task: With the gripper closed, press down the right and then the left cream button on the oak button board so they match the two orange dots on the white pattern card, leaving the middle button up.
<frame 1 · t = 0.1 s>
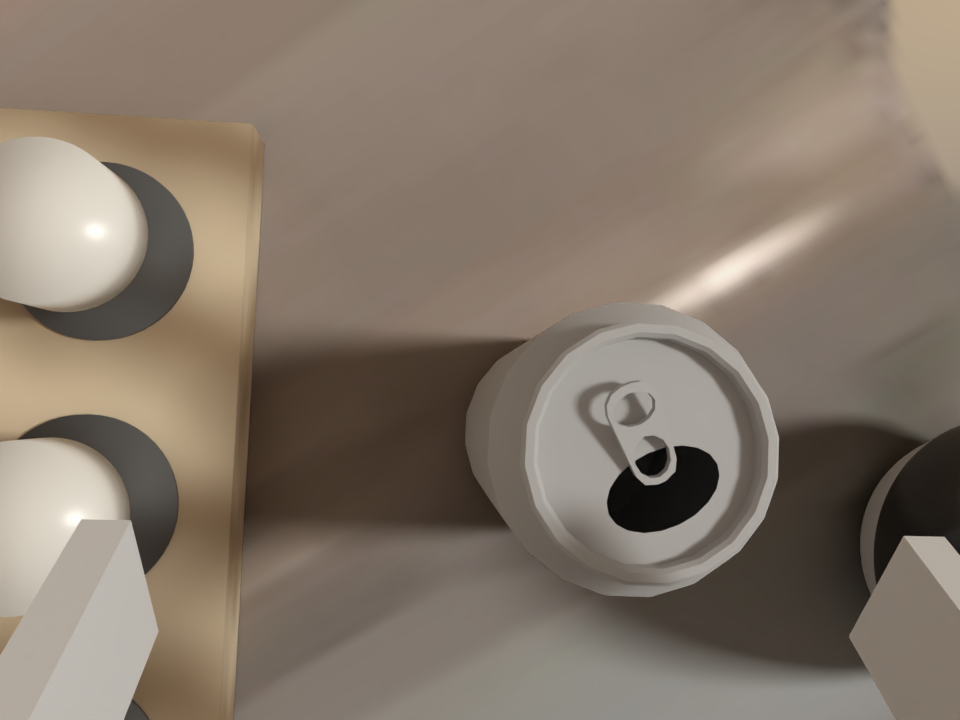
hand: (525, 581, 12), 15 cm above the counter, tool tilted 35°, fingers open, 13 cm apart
button c: (52, 227, 22), point 5 cm above the counter, slide at 0.0 cm
can: (555, 432, 28), on the counter
button board: (26, 496, 26), on the counter
button b: (30, 522, 21), point 5 cm above the counter, slide at 0.0 cm
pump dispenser: (933, 540, 29), on the counter
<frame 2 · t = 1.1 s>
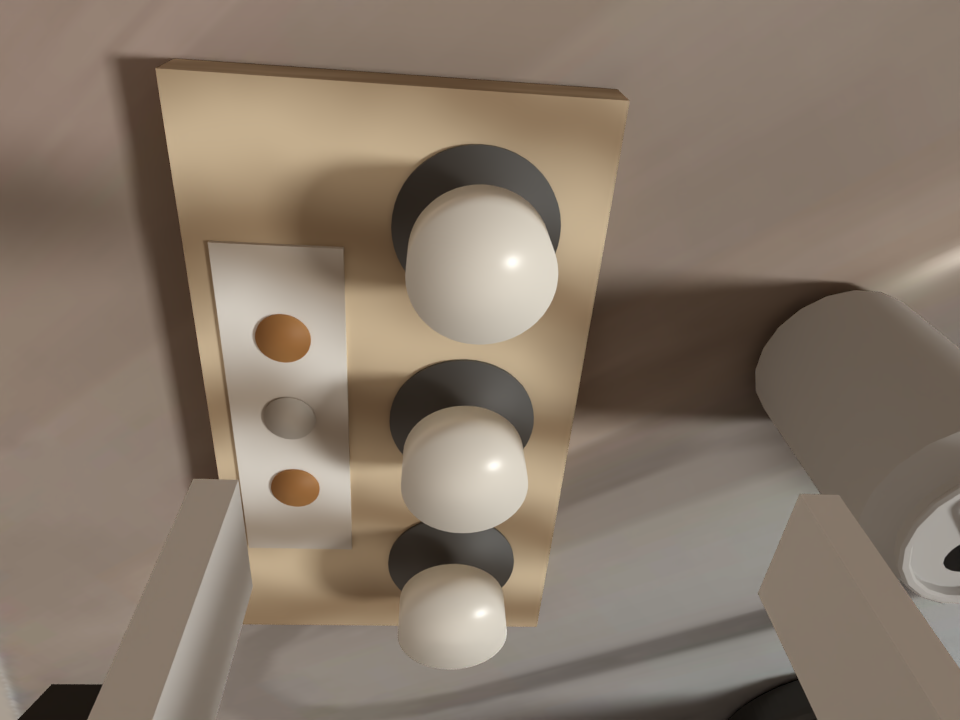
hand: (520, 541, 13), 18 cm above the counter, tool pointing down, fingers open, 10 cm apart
button c: (480, 266, 24), point 5 cm above the counter, slide at 0.0 cm
can: (825, 351, 33), on the counter
button board: (396, 392, 33), on the counter
button b: (464, 470, 29), point 5 cm above the counter, slide at 0.0 cm
button a: (452, 617, 33), point 5 cm above the counter, slide at 0.0 cm
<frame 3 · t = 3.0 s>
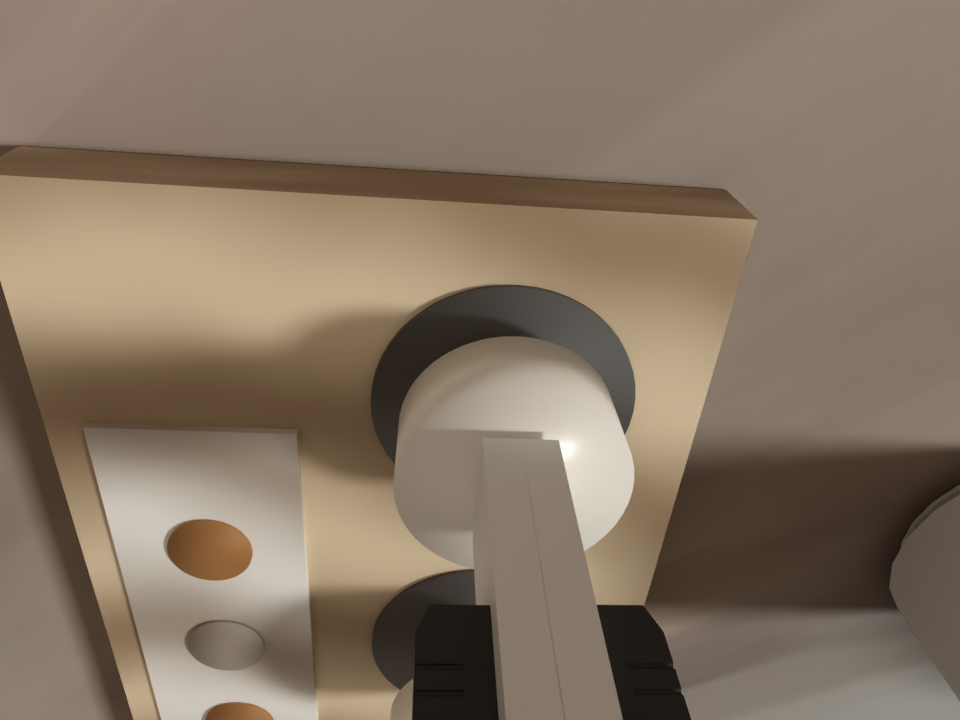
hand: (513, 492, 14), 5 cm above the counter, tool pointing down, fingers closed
button c: (510, 457, 16), point 4 cm above the counter, slide at 1.3 cm, touching gripper
button board: (383, 587, 23), on the counter
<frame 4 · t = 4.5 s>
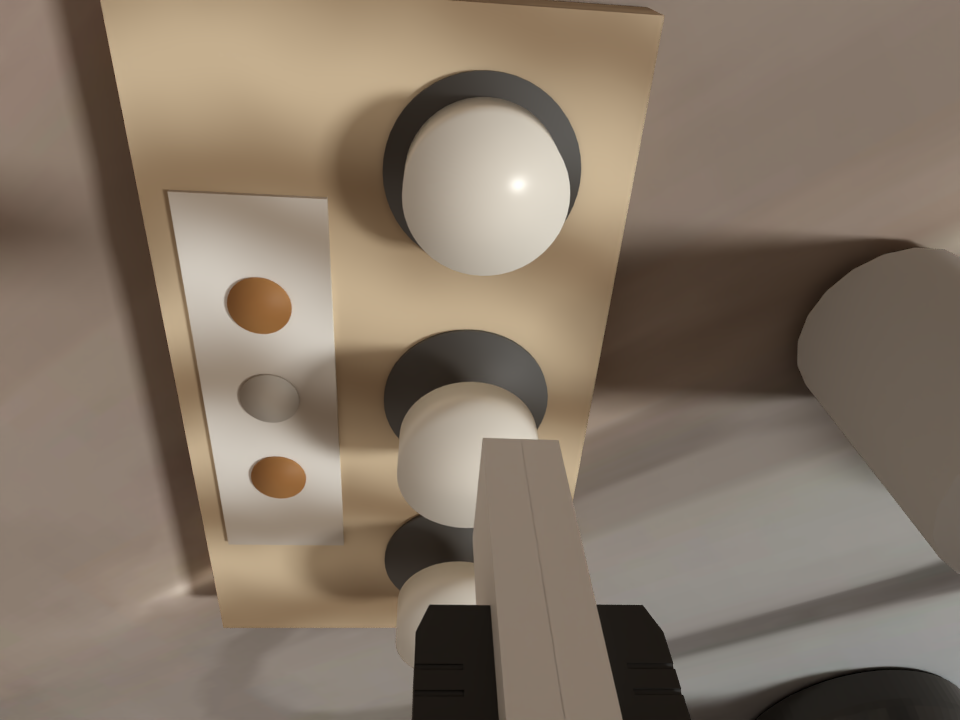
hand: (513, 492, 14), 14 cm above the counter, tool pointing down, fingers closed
button c: (484, 188, 22), point 3 cm above the counter, slide at 2.1 cm
can: (875, 320, 29), on the counter
button board: (391, 369, 29), on the counter
button b: (469, 456, 25), point 5 cm above the counter, slide at 0.0 cm
button a: (456, 620, 30), point 5 cm above the counter, slide at 0.0 cm
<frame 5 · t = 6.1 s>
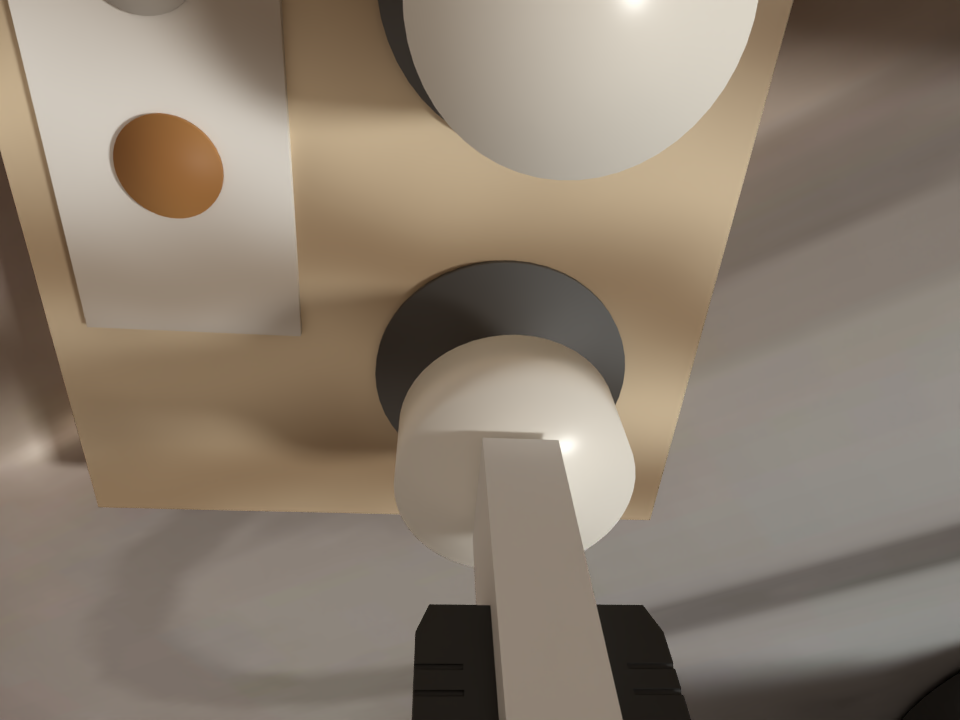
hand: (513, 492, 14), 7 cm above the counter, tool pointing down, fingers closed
button a: (511, 456, 15), point 5 cm above the counter, slide at 0.1 cm, touching gripper
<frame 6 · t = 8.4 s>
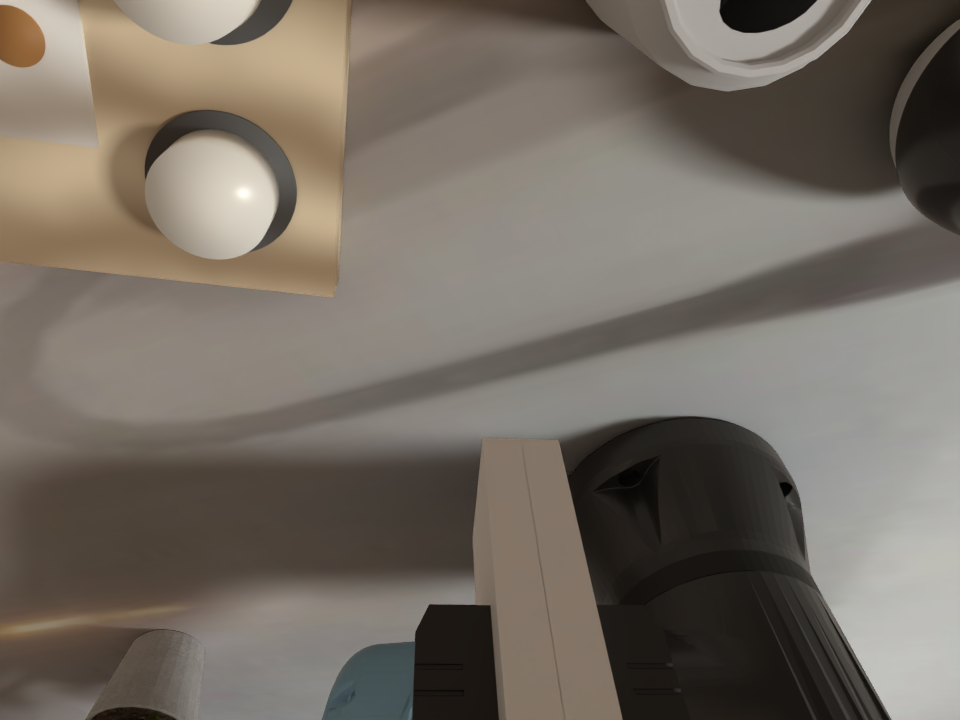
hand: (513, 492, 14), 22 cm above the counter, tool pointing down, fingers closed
house plant: (156, 655, 52), on the counter
button a: (214, 195, 30), point 3 cm above the counter, slide at 2.1 cm
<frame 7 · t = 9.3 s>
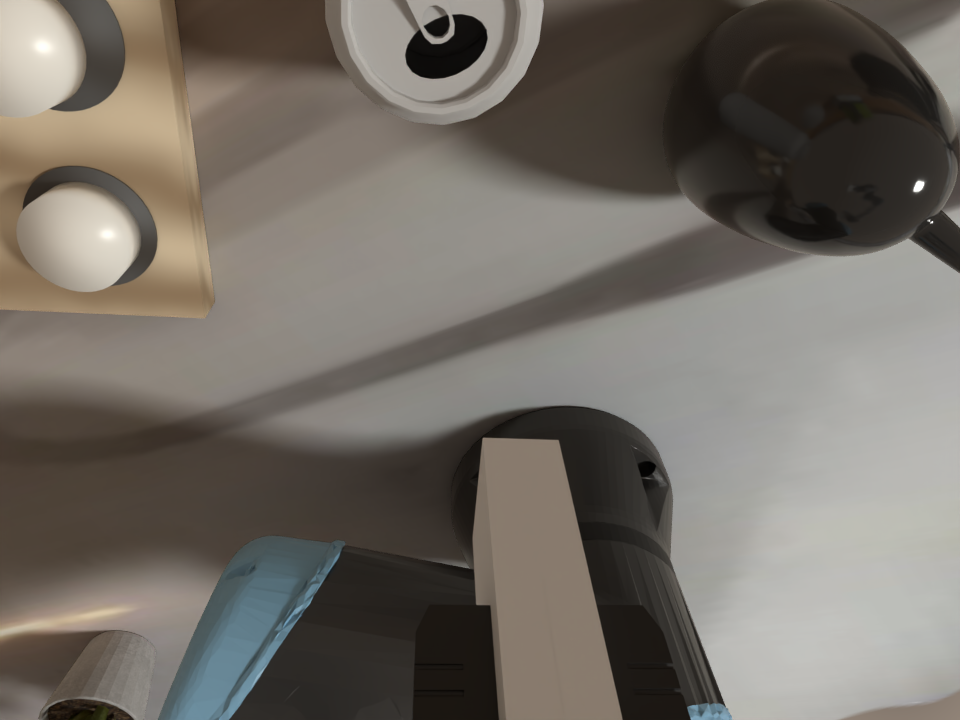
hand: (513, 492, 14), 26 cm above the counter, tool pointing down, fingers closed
house plant: (112, 655, 57), on the counter
button board: (1, 24, 33), on the counter
button b: (10, 47, 28), point 5 cm above the counter, slide at 0.0 cm
button a: (81, 237, 35), point 3 cm above the counter, slide at 2.1 cm
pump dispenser: (742, 100, 36), on the counter
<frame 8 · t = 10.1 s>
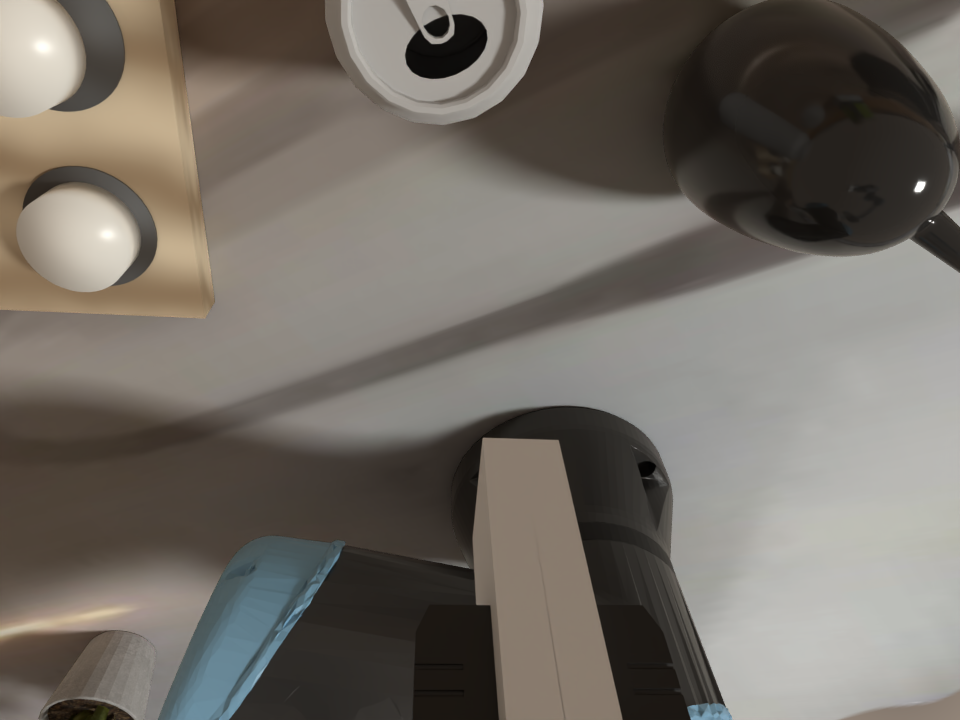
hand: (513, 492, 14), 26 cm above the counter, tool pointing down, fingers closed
house plant: (112, 656, 57), on the counter
button board: (1, 25, 33), on the counter
button b: (9, 48, 28), point 5 cm above the counter, slide at 0.0 cm
button a: (81, 237, 35), point 3 cm above the counter, slide at 2.1 cm
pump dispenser: (742, 100, 36), on the counter
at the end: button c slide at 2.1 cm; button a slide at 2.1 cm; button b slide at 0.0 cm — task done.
